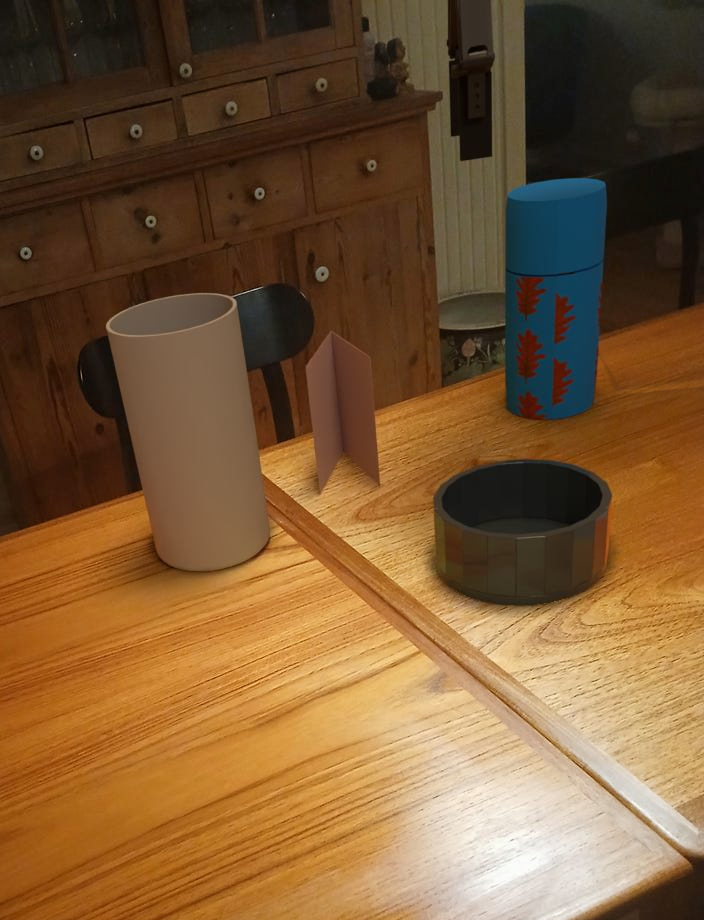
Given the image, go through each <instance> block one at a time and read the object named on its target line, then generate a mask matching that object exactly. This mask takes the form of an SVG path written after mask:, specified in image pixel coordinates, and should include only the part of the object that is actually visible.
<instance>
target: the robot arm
mask: <svg viewBox="0 0 704 920" xmlns="http://www.w3.org/2000/svg"><path fill="white" fill-rule="evenodd" d="M493 39H494V38H493V15H492V0H447V39H446V47H447V56H448V57H449V60H448V84H449V85H448V87H449V120H450V124H449V125H450V137H451V138H452V137H458V138H459V161H460V162H467V161H472V160H479V159H486V158H492V157H493V72H492V68H493V65H494V62H495V60H496V53H495V52H494V40H493Z"/></svg>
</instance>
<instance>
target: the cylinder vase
mask: <svg viewBox="0 0 704 920" xmlns="http://www.w3.org/2000/svg"><path fill="white" fill-rule="evenodd" d="M105 329H106V332H107V337H108V341H109V346H110V350H111V351H110V352H111V355H112V359H113V364H114V367H115V374H116V378H117V382H118V386H119V391H120V395H121V399H122V404H123V408H124V413H125V417H126V421H127V422H126V423H127V426H128V430H129V435H130V440H131V445H132V448H133V453H134V458H135V461H136V462H135V463H136V466H137V471H138V475H139V479H140V483H141V484H140V485H141V488H142V493H143V497H144V501H145V506H146V507H145V508H146V511H147V515H148V520H149V524H150V529H151V533H152V537H153V542H154V547H155V550H156V553H157V555H158V557H159V558H160V560H161V561H163V562H164V563H165V564H166V565H168V566H170V567H172V568H175V569H178V570H182V571H188V572H211V571H212V572H213V571H219V570H223V569H228V568H231V567H234V566H237V565H240V564H242V563H244V562H246V561H249V560H250V559H252V558H254V556H256V555H257V554H258V553H260V552H261V551H262V550H263V549H264V548H265V546H266V545H267V543H268V542H269V540H270V535H271V525H270V519H269V510H268V507H267V506H268V504H267V499H266V492H265V491H266V490H265V485H264V478H263V471H262V464H261V459H260V450H259V444H258V436H257V431H256V424H255V423H256V422H255V418H254V416H255V415H254V409H253V403H252V397H251V391H250V383H249V377H248V372H247V370H248V369H247V363H246V356H245V349H244V344H243V342H244V341H243V337H242V330H241V322H240V315H239V309H238V304H237V300H236V299H235V298H234V297H232V296H230V295H227V294H224V293H223V294H222V293H213V292H197V293H185V294H178V295H171V296H166V297H161V298H157V299H153V300H148V301H146V302H142V303H139V304H137V305H133V306H130V307H128V308H126V309H124V310H121V311H120V312H118V313H117V314H115V315H113V316H112V317H110V318H109V320H107V322H106V325H105Z"/></svg>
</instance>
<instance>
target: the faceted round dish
mask: <svg viewBox="0 0 704 920" xmlns="http://www.w3.org/2000/svg"><path fill="white" fill-rule="evenodd" d="M432 500H433V501H432V506H433V507H432V508H433V528H434V532H433V533H434V553H435V566H436V572H437V574H438V576H439V578H440V579H441V581H442V582H443V581H444V582H445V583H446V584H447V585H446V584H445V583H444V584H445V585H446V586H447V587H449V588H450V587H451V588H452V589H451V588H450V589H451V590H453V589H454V590H455V591H454V590H453V591H454V592H456V591H457V592H456V593H458V592H459V593H458V594H460V593H461V594H460V595H462V594H463V595H462V596H464V595H465V596H464V597H466V596H467V598H469V597H470V598H469V599H472V598H473V599H472V600H474V599H475V601H478V600H480V601H479V602H482V603H485V604H491V603H492V605H499V606H507V605H513V606H512V607H527V606H526V605H531V606H538V605H537V604H541V605H546V603H547V604H552V603H551V602H553V603H555V602H554V601H557V602H560V601H559V600H561V601H563V600H562V599H565V600H567V599H566V598H568V599H570V597H571V598H574V597H576V596H579V595H580V594H582V593H584V592H586V591H587V590H589V589H591V588H592V587H593V586H595V584H597V583H598V582H599V581H600V579H602V576H603V575H604V574H605V572H606V569H607V565H608V563H607V562H608V555H609V551H610V550H609V549H610V535H611V523H612V522H611V519H612V505H613V494H612V490H611V488H610V485H609V484H608V482H607V481H606V480H604V479H603V478H602V477H600V476H599V475H598V474H597V473H595V472H593V471H590V470H589V469H586V468H585V467H584V468H583V467H581V466H579V465H576V464H573V463H568V462H563V461H557V460H552V459H538V458H537V459H536V458H535V459H534V458H533V459H532V458H518V459H517V458H516V459H507V460H498V461H492V462H489V463H483V464H480V465H475V466H473V467H471V468H467V469H466V470H463V471H461V472H458V473H456V474H454V475H452V476H451V477H449V478H448V479H446V480H445V481H444V482H443V483H442V484H439V486H438V488H437V490H436V492H435V494H434V495H433V497H432ZM575 595H576V596H575ZM544 603H545V604H544Z"/></svg>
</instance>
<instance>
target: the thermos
mask: <svg viewBox="0 0 704 920" xmlns="http://www.w3.org/2000/svg"><path fill="white" fill-rule="evenodd" d="M607 197H608V196H607V184H606V183H605V181H602V180H600V179H596V178H588V177H587V178H586V177H582V178H581V177H576V178H560V179H558V178H557V179H549V180H543V181H537V182H533V183H529V184H526V185H525V184H524V185H521V186H518V187H516V188H513V189H511V190H510V191H509V192H508V193H507V195H506V203H505V252H504V253H505V255H504V256H505V262H504V263H505V264H504V265H505V268H504V269H505V272H504V273H505V274H504V275H505V277H504V278H505V279H504V280H505V282H504V288H505V289H504V290H505V291H504V297H505V299H504V302H505V303H504V318H505V319H504V380H505V381H504V382H505V384H504V385H505V397H506V398H505V400H506V401H505V402H506V409H507V410H508V411H509V412H510V413H511V414H513V415H516V416H518V417H521V418H524V419H525V418H526V419H531V420H558V419H565V418H566V419H567V418H570V417H574V416H576V415H580V414H582V413H584V412H587V410H589V409H590V408H591V407H592V406H593V404H594V401H595V393H596V387H597V379H598V378H597V376H598V365H599V346H600V332H601V331H600V328H601V314H602V313H601V312H602V295H603V294H602V293H603V278H604V277H603V276H604V262H605V261H604V259H605V241H606V228H607V227H606V225H607V208H608V199H607Z"/></svg>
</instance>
